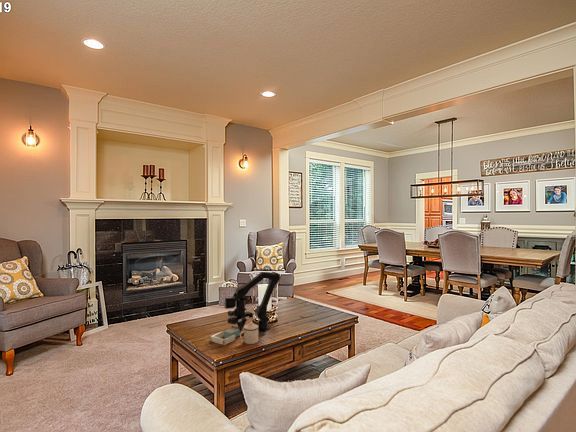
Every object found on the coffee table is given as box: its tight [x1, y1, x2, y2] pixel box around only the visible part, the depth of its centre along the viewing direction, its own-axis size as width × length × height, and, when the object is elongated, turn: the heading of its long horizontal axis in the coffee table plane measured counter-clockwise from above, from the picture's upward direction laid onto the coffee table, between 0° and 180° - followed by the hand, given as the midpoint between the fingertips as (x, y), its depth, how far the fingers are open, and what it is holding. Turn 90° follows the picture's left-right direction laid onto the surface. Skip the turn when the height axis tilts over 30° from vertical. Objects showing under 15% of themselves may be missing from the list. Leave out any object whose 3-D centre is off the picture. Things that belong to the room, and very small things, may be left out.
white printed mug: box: [239, 321, 259, 345], centre depth 199 cm, size 12×9×12 cm
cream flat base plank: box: [210, 331, 236, 346], centre depth 202 cm, size 10×11×3 cm
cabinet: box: [223, 325, 241, 339], centre depth 209 cm, size 8×6×5 cm
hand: (240, 330), depth 215 cm, fingers closed
